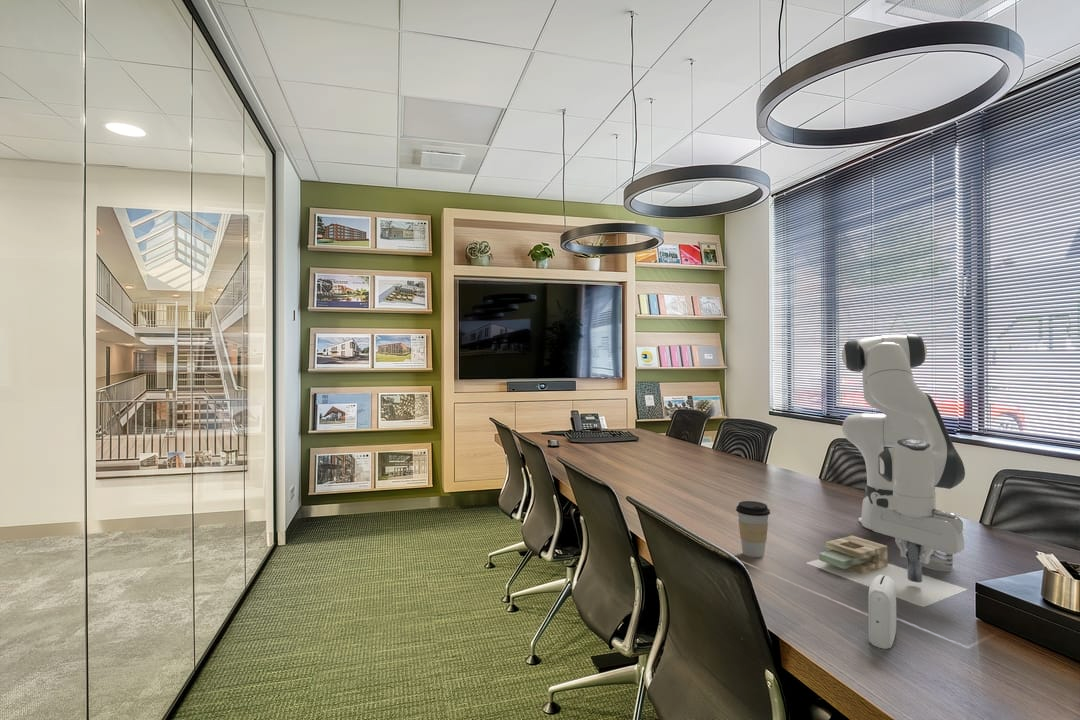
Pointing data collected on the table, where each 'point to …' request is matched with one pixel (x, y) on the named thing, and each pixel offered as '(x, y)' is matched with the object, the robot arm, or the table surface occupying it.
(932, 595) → the mat
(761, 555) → the coffee cup
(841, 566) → the clevis
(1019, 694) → the table surface
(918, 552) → the pin
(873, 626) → the white rounded slab
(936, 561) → the french press
